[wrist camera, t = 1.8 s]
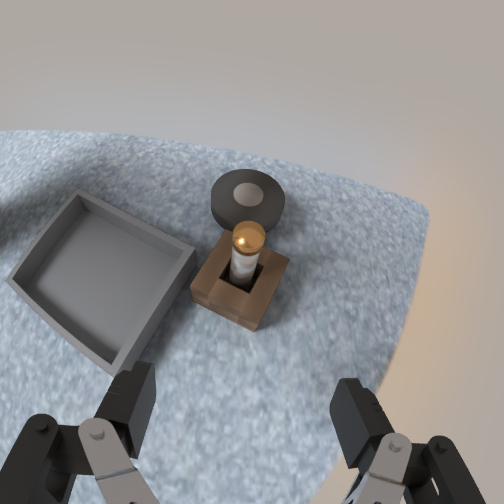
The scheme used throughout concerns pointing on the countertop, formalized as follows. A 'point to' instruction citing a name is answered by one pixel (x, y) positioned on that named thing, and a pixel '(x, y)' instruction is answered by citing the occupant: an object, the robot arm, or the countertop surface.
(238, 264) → the lock pin
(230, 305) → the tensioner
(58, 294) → the tray
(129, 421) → the robot arm
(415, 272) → the countertop surface
